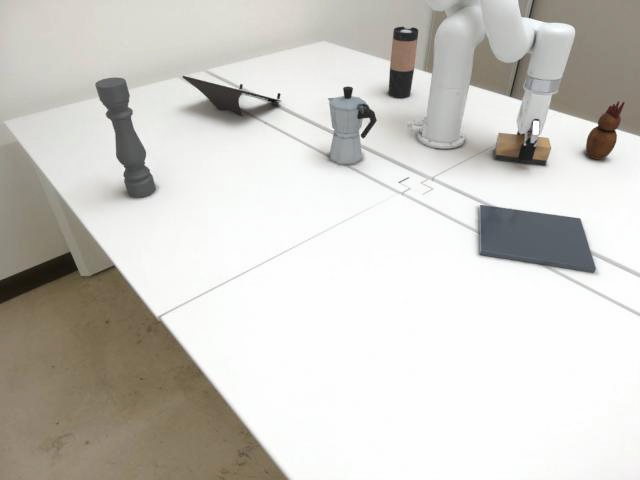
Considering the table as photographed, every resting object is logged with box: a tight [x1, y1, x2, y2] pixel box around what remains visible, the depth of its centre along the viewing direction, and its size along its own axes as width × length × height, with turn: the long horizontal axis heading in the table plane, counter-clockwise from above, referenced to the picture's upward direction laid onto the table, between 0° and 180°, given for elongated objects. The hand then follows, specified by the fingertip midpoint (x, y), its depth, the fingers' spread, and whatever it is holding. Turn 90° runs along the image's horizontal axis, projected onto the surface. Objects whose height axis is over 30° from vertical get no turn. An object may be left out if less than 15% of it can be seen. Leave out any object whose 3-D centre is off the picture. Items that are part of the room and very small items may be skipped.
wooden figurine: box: [585, 101, 626, 160], centre depth 112 cm, size 7×6×15 cm
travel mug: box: [388, 26, 419, 99], centre depth 144 cm, size 8×8×20 cm
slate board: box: [478, 204, 597, 273], centre depth 90 cm, size 20×16×1 cm
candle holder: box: [94, 76, 157, 199], centre depth 97 cm, size 6×6×25 cm
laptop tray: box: [181, 75, 282, 117], centre depth 140 cm, size 23×23×9 cm
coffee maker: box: [327, 85, 378, 166], centre depth 111 cm, size 15×9×18 cm, turn 47°
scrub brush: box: [493, 132, 552, 166], centre depth 115 cm, size 12×6×5 cm, turn 75°
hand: (523, 150), depth 115 cm, fingers open, 9 cm apart
